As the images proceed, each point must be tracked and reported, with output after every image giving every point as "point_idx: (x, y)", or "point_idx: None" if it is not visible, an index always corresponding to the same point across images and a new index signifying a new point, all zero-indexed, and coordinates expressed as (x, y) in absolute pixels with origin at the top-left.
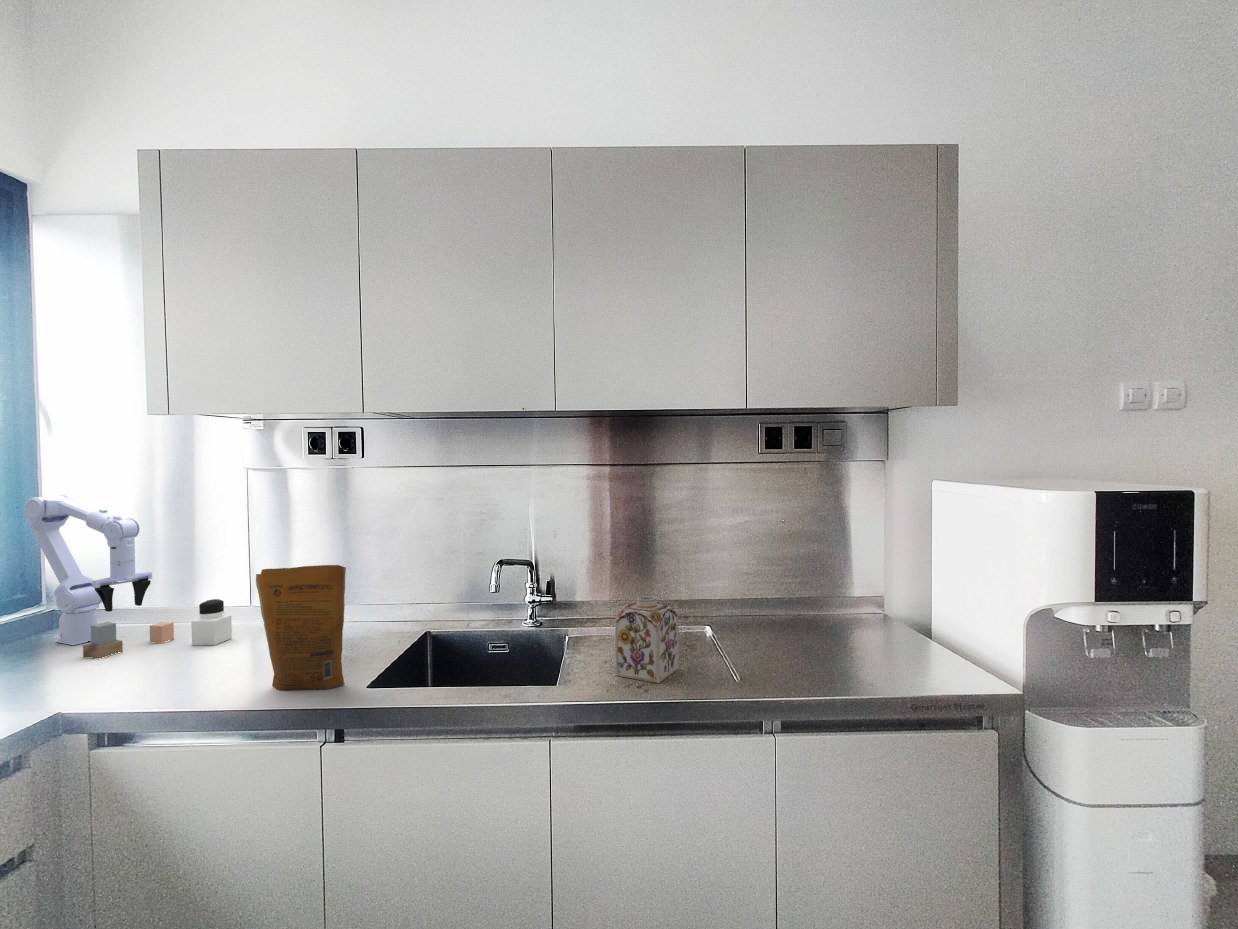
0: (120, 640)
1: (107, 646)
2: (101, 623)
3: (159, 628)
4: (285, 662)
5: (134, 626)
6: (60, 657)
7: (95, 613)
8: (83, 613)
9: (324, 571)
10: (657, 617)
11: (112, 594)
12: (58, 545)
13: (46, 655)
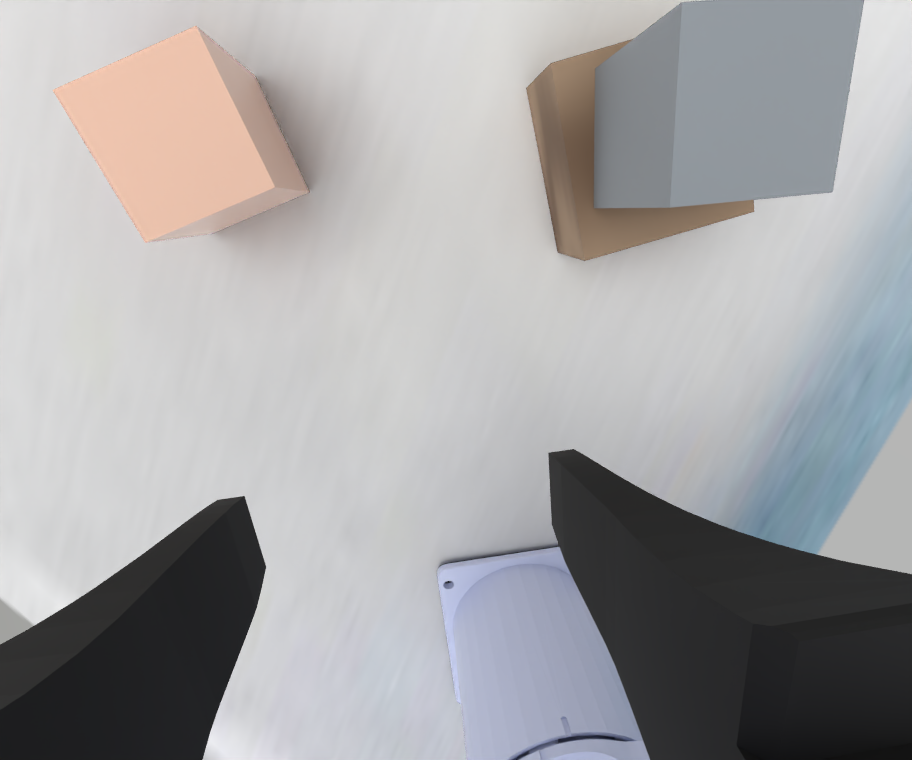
0: (559, 78)
1: None
2: (743, 181)
3: (221, 65)
4: None
5: (234, 706)
6: (745, 340)
7: (495, 732)
8: (594, 725)
9: None
10: None
11: (668, 558)
12: None
13: (743, 454)
